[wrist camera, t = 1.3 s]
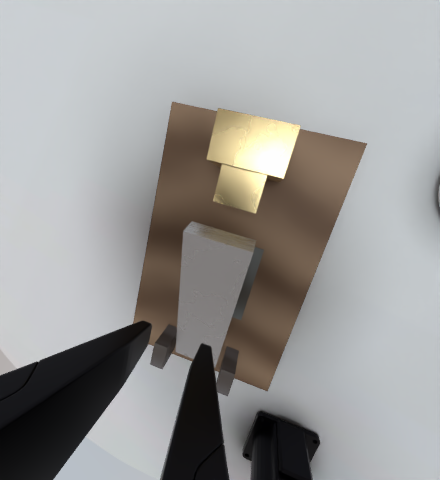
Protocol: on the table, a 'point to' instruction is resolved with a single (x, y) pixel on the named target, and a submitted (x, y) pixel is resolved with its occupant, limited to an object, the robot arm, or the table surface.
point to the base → (247, 225)
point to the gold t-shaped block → (248, 156)
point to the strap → (209, 286)
